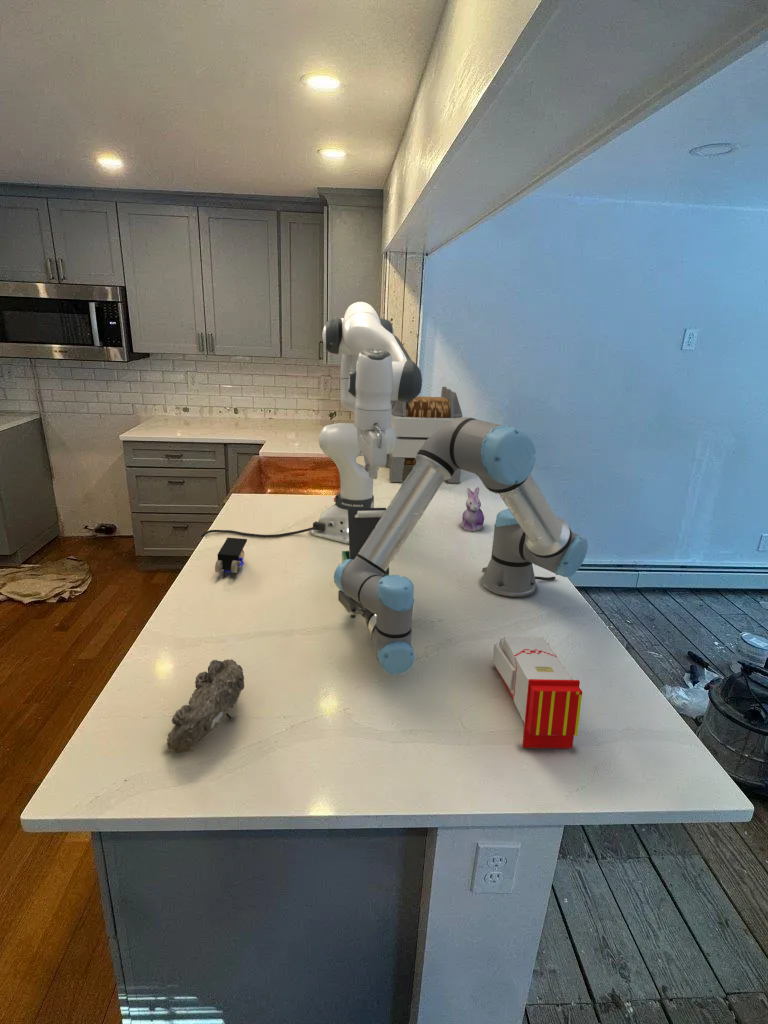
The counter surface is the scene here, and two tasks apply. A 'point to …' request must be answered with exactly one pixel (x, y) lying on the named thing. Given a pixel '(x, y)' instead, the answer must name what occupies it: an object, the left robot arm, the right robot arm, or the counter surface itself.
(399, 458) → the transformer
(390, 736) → the counter surface
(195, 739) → the fossil
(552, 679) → the toy
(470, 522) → the figurine
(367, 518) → the lid
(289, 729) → the counter surface
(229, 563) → the black toy car
